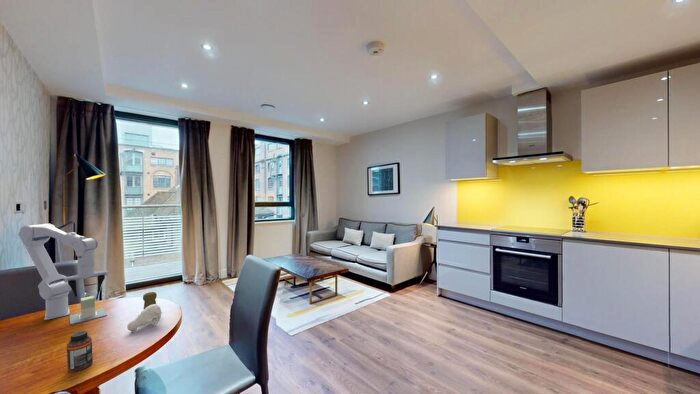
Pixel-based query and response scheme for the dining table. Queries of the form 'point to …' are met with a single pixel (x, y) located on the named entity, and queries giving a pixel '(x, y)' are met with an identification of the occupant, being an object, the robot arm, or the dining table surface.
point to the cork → (149, 299)
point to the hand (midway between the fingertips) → (87, 293)
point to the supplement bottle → (79, 351)
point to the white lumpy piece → (146, 317)
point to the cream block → (88, 312)
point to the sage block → (87, 302)
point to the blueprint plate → (77, 317)
